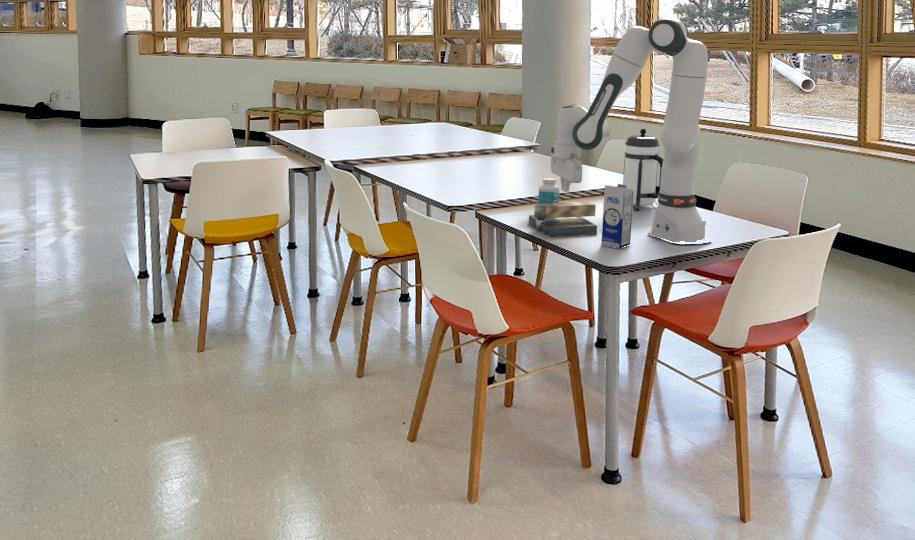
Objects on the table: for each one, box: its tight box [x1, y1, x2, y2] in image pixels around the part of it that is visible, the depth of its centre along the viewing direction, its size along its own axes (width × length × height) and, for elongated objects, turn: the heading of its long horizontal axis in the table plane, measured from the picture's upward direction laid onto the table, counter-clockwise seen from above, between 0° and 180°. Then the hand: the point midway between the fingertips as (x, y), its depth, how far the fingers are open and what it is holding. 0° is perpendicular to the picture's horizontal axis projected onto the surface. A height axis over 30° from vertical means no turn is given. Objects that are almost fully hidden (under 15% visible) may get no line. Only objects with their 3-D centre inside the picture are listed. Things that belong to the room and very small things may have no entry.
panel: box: [528, 214, 598, 238], centre depth 327 cm, size 20×18×4 cm
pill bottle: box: [538, 177, 560, 204], centre depth 347 cm, size 8×7×14 cm
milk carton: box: [600, 183, 634, 249], centre depth 304 cm, size 7×7×20 cm
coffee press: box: [622, 128, 663, 212], centre depth 360 cm, size 17×16×30 cm
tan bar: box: [533, 201, 596, 218], centre depth 326 cm, size 21×5×4 cm, turn 106°
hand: (565, 191), depth 333 cm, fingers closed
